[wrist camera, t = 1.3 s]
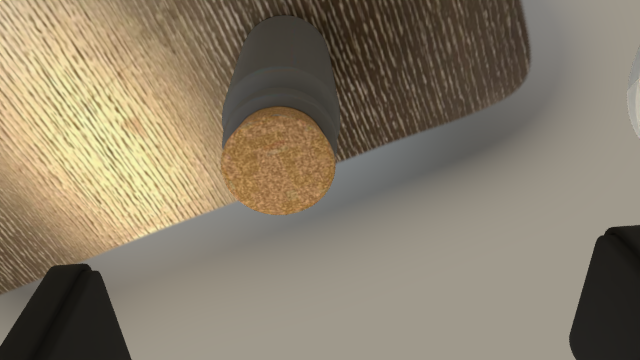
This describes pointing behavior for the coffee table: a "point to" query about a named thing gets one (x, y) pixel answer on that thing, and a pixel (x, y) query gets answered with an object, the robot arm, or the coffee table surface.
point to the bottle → (281, 119)
